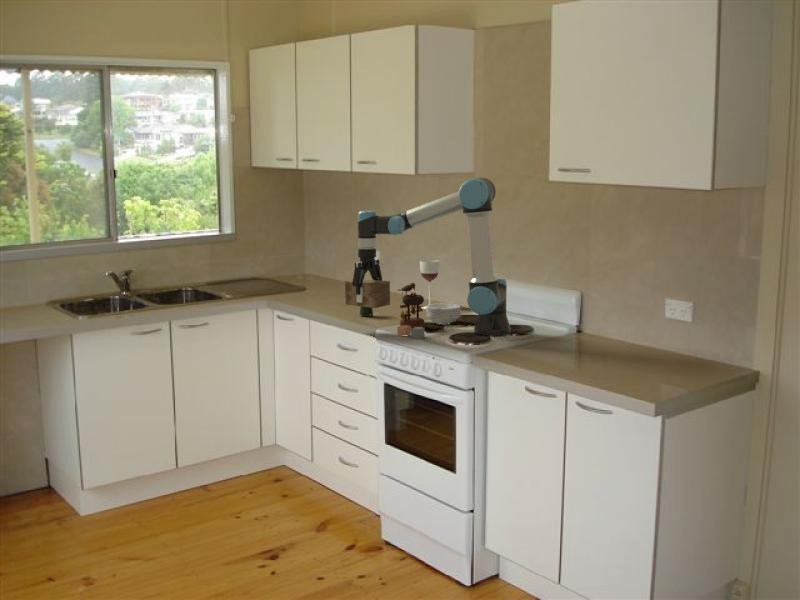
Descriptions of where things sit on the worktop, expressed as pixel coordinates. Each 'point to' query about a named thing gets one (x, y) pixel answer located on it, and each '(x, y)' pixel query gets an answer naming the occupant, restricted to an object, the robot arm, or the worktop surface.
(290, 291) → the worktop surface
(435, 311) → the paper bowls
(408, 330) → the terracotta block
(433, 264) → the wineglass
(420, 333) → the slate block
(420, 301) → the music box
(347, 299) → the brown wooden block
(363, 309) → the character mug
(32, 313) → the worktop surface
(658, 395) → the worktop surface
